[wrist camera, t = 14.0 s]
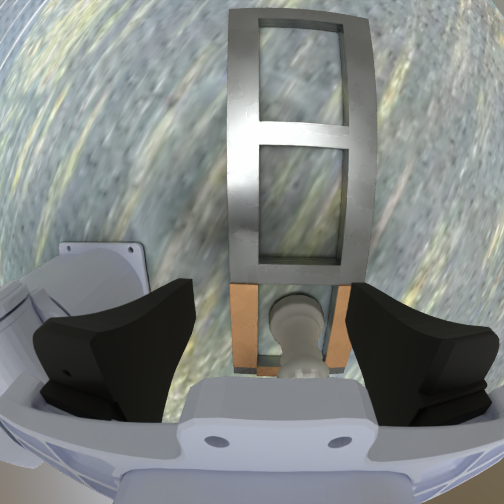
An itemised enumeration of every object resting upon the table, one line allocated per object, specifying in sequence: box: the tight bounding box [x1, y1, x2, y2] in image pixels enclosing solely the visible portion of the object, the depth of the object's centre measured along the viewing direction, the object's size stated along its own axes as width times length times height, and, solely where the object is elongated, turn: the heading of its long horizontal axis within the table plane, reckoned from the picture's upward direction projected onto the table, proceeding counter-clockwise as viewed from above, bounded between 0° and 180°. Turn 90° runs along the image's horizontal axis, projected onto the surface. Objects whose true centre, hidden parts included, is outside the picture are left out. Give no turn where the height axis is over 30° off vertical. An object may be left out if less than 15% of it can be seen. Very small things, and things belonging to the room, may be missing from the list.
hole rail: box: [227, 8, 377, 376], centre depth 18 cm, size 10×29×2 cm, turn 0°
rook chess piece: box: [269, 295, 330, 378], centre depth 18 cm, size 4×4×8 cm
